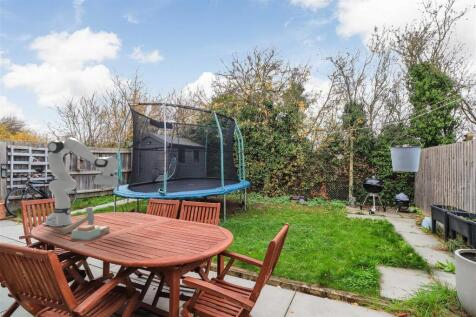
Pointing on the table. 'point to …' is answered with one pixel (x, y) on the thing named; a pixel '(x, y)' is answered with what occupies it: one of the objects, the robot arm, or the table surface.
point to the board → (102, 229)
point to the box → (85, 234)
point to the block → (86, 228)
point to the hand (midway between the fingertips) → (102, 190)
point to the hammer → (80, 221)
